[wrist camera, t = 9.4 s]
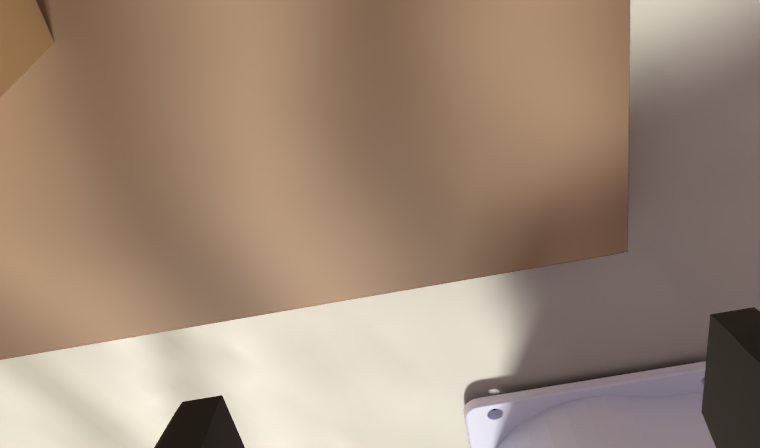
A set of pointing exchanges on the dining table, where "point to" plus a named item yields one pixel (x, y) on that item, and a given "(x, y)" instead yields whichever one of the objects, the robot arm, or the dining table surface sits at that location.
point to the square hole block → (20, 39)
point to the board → (300, 156)
